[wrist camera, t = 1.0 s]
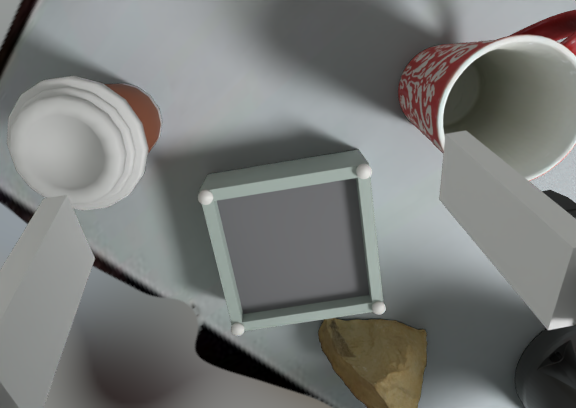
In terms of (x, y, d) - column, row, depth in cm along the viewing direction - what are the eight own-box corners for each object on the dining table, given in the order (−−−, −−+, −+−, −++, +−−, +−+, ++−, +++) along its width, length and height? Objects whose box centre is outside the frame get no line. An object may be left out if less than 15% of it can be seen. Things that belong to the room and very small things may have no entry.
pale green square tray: (374, 283, 46) (386, 313, 40) (237, 304, 46) (232, 336, 41) (359, 148, 41) (371, 163, 36) (206, 173, 41) (196, 192, 36)
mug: (424, 161, 41) (488, 215, 29) (365, 83, 39) (408, 105, 26) (545, 69, 39) (675, 84, 26) (491, -21, 36) (606, -53, 23)
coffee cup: (194, 152, 40) (161, 195, 29) (102, 183, 41) (37, 237, 30) (151, 51, 37) (96, 57, 26) (53, 87, 38) (-40, 108, 27)
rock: (291, 356, 46) (359, 417, 47) (328, 366, 38) (408, 440, 39) (349, 276, 50) (410, 334, 51) (393, 270, 42) (463, 339, 43)
